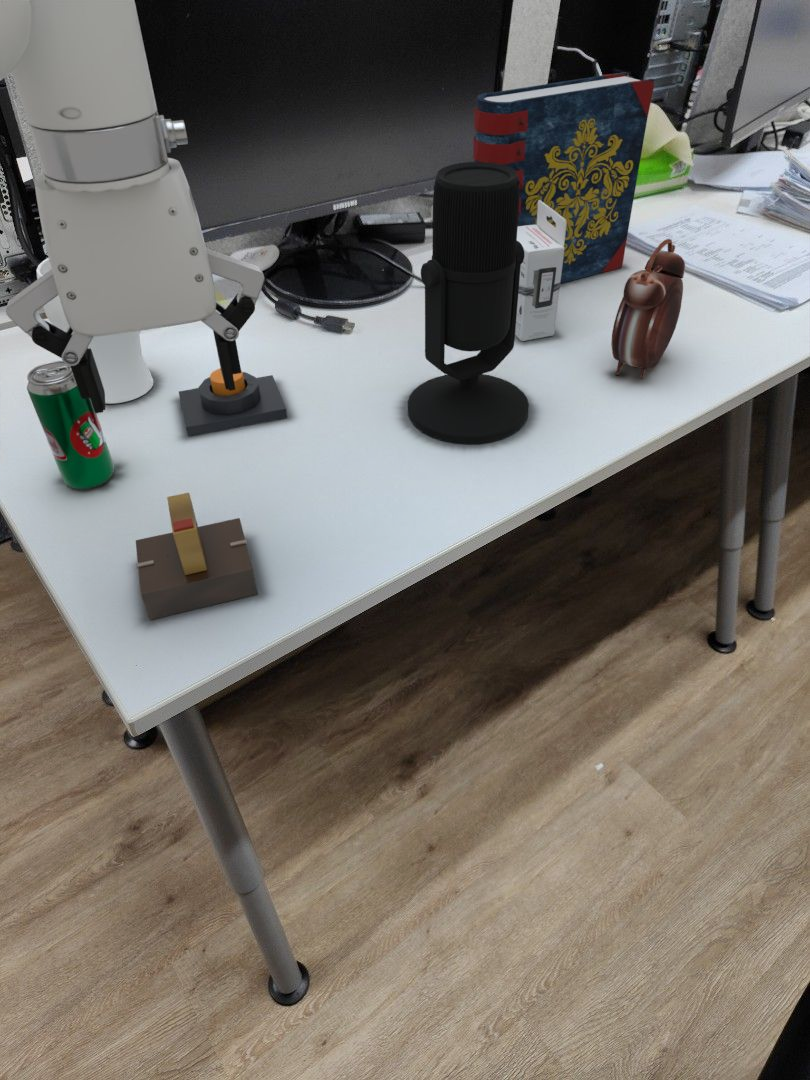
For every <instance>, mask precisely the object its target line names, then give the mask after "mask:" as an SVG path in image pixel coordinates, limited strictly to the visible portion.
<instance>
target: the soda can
mask: <svg viewBox="0 0 810 1080" xmlns="http://www.w3.org/2000/svg"><path fill="white" fill-rule="evenodd" d="M26 377H27V381H28V382H27V385H26V390H27V393H28V395H29V398H30V401H31V403H32V405H33V408H34V411H35V414H36V416H37V418H38V421H39V423H40V426H41V428H42V431H43V433H44V436H45V439H46V441H47V443H48V446H49V448H50V451H51V454H52V456H53V459H54V461H55V464H56V466H57V469H58V471H59V474H60V476H61V479H62V482H63V483H64V484H65V485H67V486H69V487H70V488H73V489H77V490H91V489H95V488H97V487H100V486H102V485H104V484H105V483H107V482H108V481H109V480H110V478H111V477H112V475H113V474H114V472H115V464H114V461H113V458H112V455H111V452H110V450H109V446H108V444H107V441H106V437H105V433H104V431H103V429H102V425H101V422H100V419H99V417H98V413H95V411H94V408H93V405H92V402H91V399H90V398H87V399H82V398H81V395H80V392H79V390H78V387H77V384H76V381H75V378H74V375H73V372H72V369H71V366H69V365H67V364H65V363H64V362H63V361H62V360H53V361H49V362H45V363H42V364H39V365H37V366H35V367H34V368H32V369H31V370H30V371H29V372H28V373H27V375H26Z"/></svg>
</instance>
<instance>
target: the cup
mask: <svg viewBox="0 0 810 1080" xmlns="http://www.w3.org/2000/svg"><path fill="white" fill-rule="evenodd" d="M50 270H51V265H50V261H49V257H47V258H45V259H44V260H42V261H41V262H40V263H39V264H38V266H37V267H36V270H35V271H36V280H37V279H39V278H40V277H42V276H43V275H44V274H46V273H47V272H48V271H50ZM42 308H43V311H44V313H45V316H46V318H47V319H48V321H49V323H50V324H52V325H54V326H56V327H57V328H59V329H61V330H63V331H64V332H66V331H67V329H68V327H69V324H68V322H67V319H66V317H65V314H64V311H63V308H62V305H61V301H60V298H59V295H58V296H56V297H55V298H54V299H52V300H51V301H49V302H48V303H47V304H45V305H44V306H43V307H42ZM140 334H141V331H135V332H128V333H121V334H114V335H107V336H94V337H93V339H92V340H91V342H90V344H89V346H88V349H90V348H91V350H92V353H93V357H94V360H95V363H96V366H97V369H98V372H99V375H100V378H101V381H102V385H103V388H104V391H105V404H120V403H121V404H122V403H126V402H130V401H133V400H136V399H138V398H140V397H142V396H144V395H145V394H147V393H148V392H149V391H150V390H151V389H152V388H153V386H154V378H153V376H152V373H151V371H150V369H149V366H148V365H147V363H146V361H145V358H144V356H143V354H142V344H141V336H140Z"/></svg>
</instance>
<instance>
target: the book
mask: <svg viewBox="0 0 810 1080" xmlns="http://www.w3.org/2000/svg"><path fill="white" fill-rule="evenodd" d="M654 81H655V79H653V78H647V79H637V78H633V77H631V76H628V72H626V71H621V72H616V73H608V74H607V73H606V74H602V75H597V76H591V77H584V78H583V77H582V78H578V79H571V80H564V81H558V82H551V83H545V84H539V85H532V86H525V87H519V88H518V87H517V88H514V89H513V88H512V89H506V90H500V91H494V92H484V93H480V94H478V95H477V96H476V106H475V107H474V123H473V125H474V127H473V128H474V131H475V135H474V137H473V146H472V147H473V150H472V151H473V152H472V154H473V155H472V156H473V157H472V158H473V160H474V162H488V163H496V164H501V165H505V166H508V167H511V168H513V169H514V170H515V171H516V172H517V175H518V179H519V215H518V226H526V225H537V211H538V201H539V200H541V201H542V202H543V203H545V204H546V205H548V206H549V207H550V208H552V209H553V210H554V211H556V212H557V213H558V214H559V215H560V216H562V217H563V218H564V219H566V222H567V226H566V234H565V243H564V256H563V265H562V273H561V281H560V285H561V284H565V283H568V282H572V281H576V280H580V279H584V278H588V277H591V276H595V275H599V274H603V273H606V272H611V271H615V270H618V269H621V268H623V264H624V259H625V252H626V246H627V239H628V234H629V229H630V223H631V216H632V210H633V205H634V200H635V193H636V187H637V181H638V176H639V169H640V164H641V159H642V158H641V157H642V153H643V146H644V140H645V135H646V129H647V123H648V119H649V113H650V109H651V102H652V99H653V94H654V88H655V82H654ZM547 221H548V222H549V223H550V224H552V225H553V226H554V227H556V223H555V222H554V221H553V219H552V217H548V216H547Z"/></svg>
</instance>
